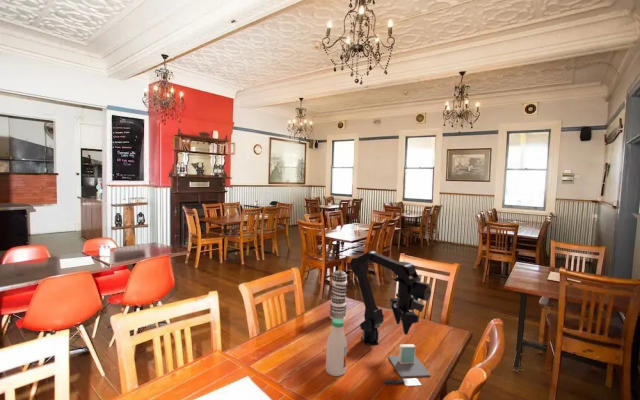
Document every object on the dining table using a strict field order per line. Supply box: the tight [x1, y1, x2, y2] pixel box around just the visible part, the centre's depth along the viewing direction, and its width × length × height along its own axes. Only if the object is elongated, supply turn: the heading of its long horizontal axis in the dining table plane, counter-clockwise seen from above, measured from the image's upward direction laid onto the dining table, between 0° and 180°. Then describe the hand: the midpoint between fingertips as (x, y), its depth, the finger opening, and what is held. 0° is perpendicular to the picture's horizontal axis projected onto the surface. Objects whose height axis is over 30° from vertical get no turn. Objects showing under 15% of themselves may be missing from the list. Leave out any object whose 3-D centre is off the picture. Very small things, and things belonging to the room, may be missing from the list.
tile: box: [398, 343, 416, 364], centre depth 133 cm, size 6×2×7 cm, turn 98°
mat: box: [387, 354, 431, 379], centre depth 131 cm, size 12×14×1 cm
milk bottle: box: [325, 319, 348, 377], centre depth 126 cm, size 8×8×20 cm
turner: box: [384, 377, 422, 387], centre depth 120 cm, size 13×4×1 cm, turn 98°
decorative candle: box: [329, 270, 349, 321], centre depth 174 cm, size 9×9×25 cm
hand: (401, 328), depth 139 cm, fingers open, 9 cm apart
